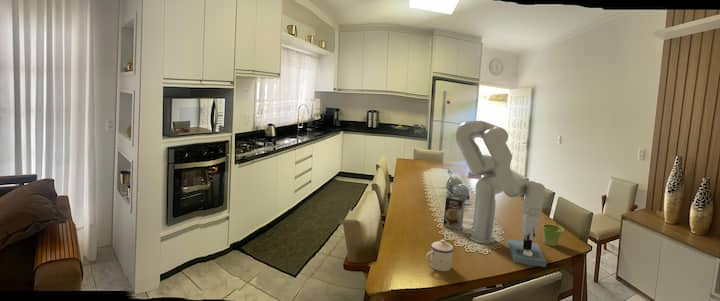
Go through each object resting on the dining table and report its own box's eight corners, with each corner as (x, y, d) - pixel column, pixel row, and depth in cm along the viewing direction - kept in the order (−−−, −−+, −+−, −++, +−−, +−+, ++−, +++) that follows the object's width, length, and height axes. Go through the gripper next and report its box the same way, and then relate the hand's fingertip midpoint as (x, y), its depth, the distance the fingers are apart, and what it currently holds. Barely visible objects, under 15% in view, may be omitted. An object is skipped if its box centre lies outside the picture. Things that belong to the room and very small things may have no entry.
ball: (521, 247, 171) (521, 257, 171) (523, 250, 166) (523, 260, 167) (532, 248, 170) (531, 258, 170) (534, 251, 166) (533, 261, 166)
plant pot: (558, 250, 181) (561, 232, 179) (537, 244, 186) (540, 227, 185) (562, 244, 188) (565, 227, 187) (542, 238, 194) (544, 222, 192)
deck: (507, 244, 184) (508, 239, 184) (536, 248, 181) (536, 243, 181) (513, 262, 165) (514, 256, 165) (546, 267, 162) (546, 261, 162)
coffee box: (442, 226, 203) (445, 197, 200) (445, 222, 208) (448, 194, 205) (459, 230, 199) (462, 200, 196) (462, 226, 204) (465, 197, 201)
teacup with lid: (443, 260, 163) (445, 234, 161) (456, 270, 155) (459, 243, 153) (419, 264, 159) (421, 237, 156) (431, 274, 150) (434, 247, 148)
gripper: (520, 204, 178) (515, 241, 181) (526, 214, 163) (520, 254, 166) (537, 206, 176) (532, 243, 179) (545, 216, 162) (539, 256, 165)
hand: (526, 248), depth 173 cm, fingers closed
